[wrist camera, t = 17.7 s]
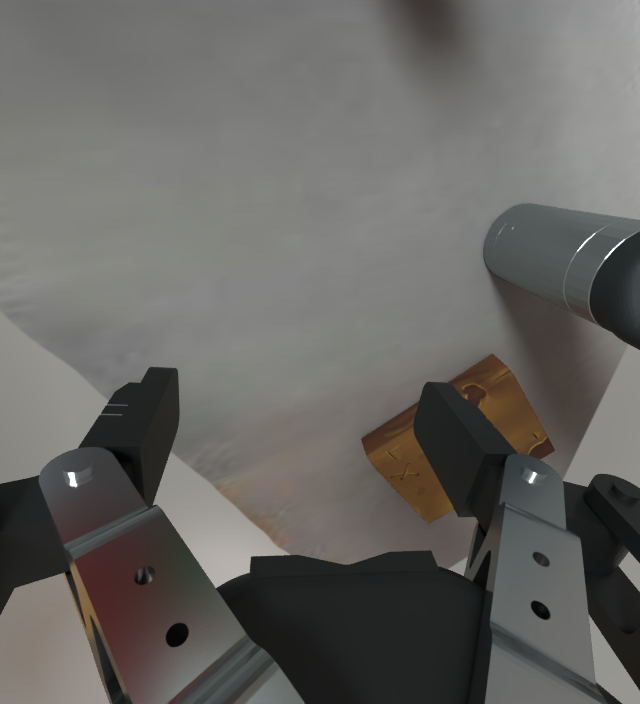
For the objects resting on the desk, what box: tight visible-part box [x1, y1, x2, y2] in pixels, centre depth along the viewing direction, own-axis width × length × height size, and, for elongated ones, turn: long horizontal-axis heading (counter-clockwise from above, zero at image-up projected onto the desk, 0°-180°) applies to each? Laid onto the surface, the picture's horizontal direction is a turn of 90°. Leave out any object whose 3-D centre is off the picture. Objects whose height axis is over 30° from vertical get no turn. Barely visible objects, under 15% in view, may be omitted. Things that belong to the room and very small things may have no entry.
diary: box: [361, 354, 555, 524], centre depth 58 cm, size 23×19×6 cm
